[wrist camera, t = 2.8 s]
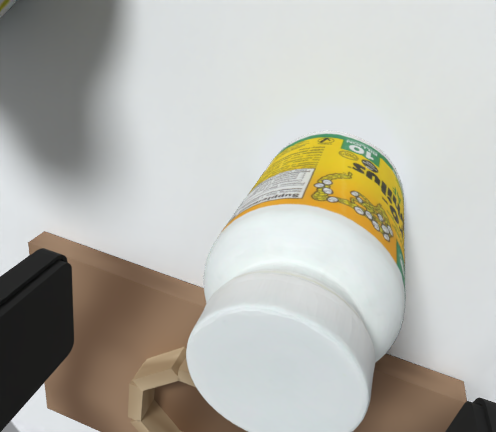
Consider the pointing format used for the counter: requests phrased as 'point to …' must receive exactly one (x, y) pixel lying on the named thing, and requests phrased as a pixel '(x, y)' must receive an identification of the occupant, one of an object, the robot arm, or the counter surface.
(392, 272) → the supplement bottle
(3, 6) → the air freshener
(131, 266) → the wooden board
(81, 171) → the counter surface
